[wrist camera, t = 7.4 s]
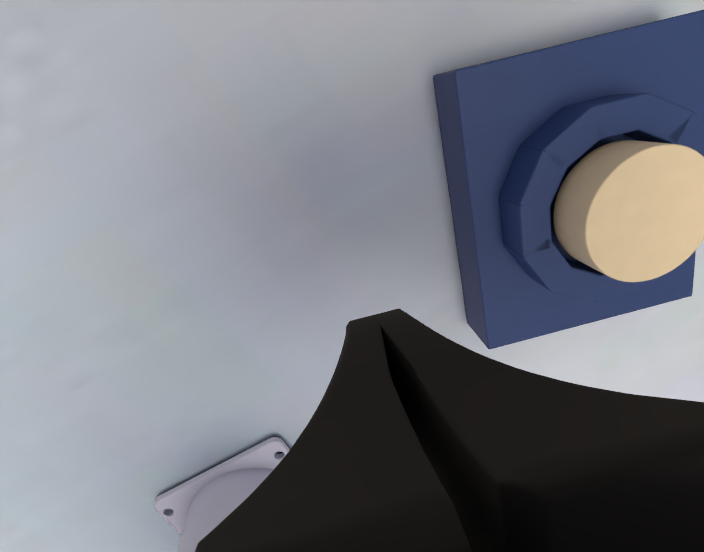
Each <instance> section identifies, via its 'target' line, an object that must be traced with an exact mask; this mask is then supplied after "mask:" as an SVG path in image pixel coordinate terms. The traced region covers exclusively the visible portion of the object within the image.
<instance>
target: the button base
mask: <svg viewBox="0 0 704 552" xmlns="http://www.w3.org/2000/svg"><path fill="white" fill-rule="evenodd" d="M433 80H434V87H435V94H436V101H437V108H438V116H439V123H440V130H441V137H442V144H443V151H444V158H445V166H446V173H447V180H448V187H449V194H450V201H451V208H452V216H453V223H454V230H455V237H456V244H457V251H458V258H459V265H460V273H461V280H462V287H463V294H464V301H465V308H466V315H467V323H468V324H469V326H470V327H471V328H472V329H473V331H474V332H475V333H476V334H477V336H478V337H479V338H480V339H481V340H482V342H483V343H484V344H485V345H486V347H487V348H488V349H492V348H496V347H500V346H504V345H508V344H511V343H515V342H519V341H523V340H527V339H530V338H534V337H538V336H542V335H545V334H549V333H553V332H557V331H561V330H564V329H568V328H572V327H576V326H579V325H583V324H587V323H591V322H595V321H598V320H602V319H606V318H610V317H613V316H617V315H621V314H625V313H629V312H632V311H636V310H640V309H644V308H647V307H651V306H655V305H659V304H663V303H666V302H670V301H674V300H678V299H681V298H685V297H689V296H692V290H693V277H694V264H695V252H696V250H695V251H694V252H693V254H692V255H691V256H690V257H689V258H688V259H686V260H685V261H684V262H683V263H682V264H680V265H679V266H678V267H676V268H675V269H673V270H672V271H670V272H668V273H666V274H664V275H662V276H660V277H657V278H654V279H651V280H647V281H642V282H624V281H619V280H616V279H613V278H610V277H608V276H607V275H605V274H603V273H601V272H599V271H597V270H595V269H593V268H592V267H590V266H588V265H586V264H584V263H582V262H580V261H578V260H577V259H575V258H573V257H572V256H571V255H569V254H568V253H567V252H566V251H565V250H564V249H563V247H562V246H561V244H560V243H559V240H558V238H557V236H556V232H555V229H554V221H553V216H554V206H555V201H556V198H557V195H558V192H559V189H560V187H561V185H562V183H563V181H564V180H565V178H566V177H567V175H568V174H569V172H570V171H571V170H572V169H573V167H574V166H575V165H576V164H577V163H578V162H579V161H580V160H581V159H582V158H584V157H585V156H586V155H587V154H589V153H590V152H592V151H594V150H595V149H597V148H599V147H601V146H603V145H605V144H608V143H611V142H615V141H621V140H635V141H646V142H658V143H669V144H678V145H683V146H687V147H689V148H691V149H694V150H696V151H697V152H698V153H700V154H701V155H702V156H703V157H704V10H701V11H696V12H692V13H688V14H684V15H680V16H676V17H672V18H668V19H664V20H659V21H655V22H651V23H647V24H643V25H639V26H635V27H631V28H626V29H622V30H618V31H614V32H610V33H606V34H602V35H598V36H594V37H589V38H585V39H581V40H577V41H573V42H569V43H565V44H561V45H557V46H552V47H548V48H544V49H540V50H536V51H532V52H528V53H524V54H519V55H515V56H511V57H507V58H503V59H499V60H495V61H491V62H487V63H482V64H478V65H474V66H470V67H466V68H462V69H458V70H454V71H450V72H446V73H442V74H437V75H434V77H433Z"/></svg>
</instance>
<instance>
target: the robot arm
mask: <svg viewBox="0 0 704 552" xmlns="http://www.w3.org/2000/svg"><path fill="white" fill-rule="evenodd" d="M279 451H280V452H283V453H281V454H277V453H276V452H279ZM153 506H154V509H155V510H156V511H157V512H158V513H159V514H160V515H161V516H162V517H163V518H164V519H165V520H166V521H167V522H168V523H169V524H170V525H171V526H172V527H173V528H174V529H175V530H176V531H177V532H178V533H179V534H180V535H181V539H180V543H179V547H178V550H177V552H704V402H696V401H687V400H678V399H669V398H659V397H650V396H641V395H633V394H626V393H621V392H615V391H609V390H604V389H598V388H592V387H587V386H582V385H578V384H573V383H568V382H564V381H560V380H556V379H553V378H549V377H545V376H541V375H538V374H534V373H530V372H527V371H524V370H521V369H518V368H515V367H512V366H509V365H506V364H504V363H501V362H498V361H495V360H493V359H490V358H487V357H485V356H483V355H480V354H478V353H476V352H474V351H472V350H469V349H467V348H465V347H463V346H461V345H459V344H457V343H455V342H453V341H451V340H449V339H447V338H446V337H444V336H442V335H440V334H439V333H437V332H435V331H433V330H432V329H430V328H429V327H427V326H425V325H424V324H422V323H421V322H419V321H418V320H416V319H415V318H413V317H412V316H410V315H409V314H407V313H405V312H404V311H402V310H401V309H395V310H391V311H387V312H384V313H380V314H376V315H372V316H368V317H364V318H360V319H356V320H352V321H350V322H349V323H348V325H347V326H346V336H345V341H344V345H343V348H342V352H341V355H340V358H339V361H338V364H337V367H336V369H335V372H334V374H333V377H332V379H331V381H330V383H329V386H328V388H327V390H326V392H325V395H324V396H323V398H322V400H321V402H320V404H319V406H318V408H317V410H316V411H315V413H314V415H313V416H312V418H311V420H310V422H309V423H308V425H307V426H306V428H305V429H304V431H303V432H302V434H301V435H300V436H299V438H298V439H297V441H296V442H295V444H294V445H293V446H292V448H291V449H289V448H288V447H287V445H286V444H285V443H284V441H283V440H282V439H280V438H278V437H272V438H269V439H268V440H266V441H264V442H262V443H260V444H258V445H256V446H254V447H252V448H250V449H248V450H246V451H244V452H242V453H241V454H239V455H237V456H235V457H233V458H231V459H229V460H227V461H225V462H223V463H221V464H219V465H217V466H215V467H214V468H212V469H210V470H208V471H206V472H204V473H202V474H200V475H198V476H196V477H194V478H192V479H190V480H188V481H187V482H185V483H183V484H181V485H179V486H177V487H175V488H173V489H171V490H169V491H167V492H165V493H163V494H161V495H159V496H158V497H157V498H156V500H155V502H154V505H153ZM168 509H171V510H168Z"/></svg>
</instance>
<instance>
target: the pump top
mask: <svg viewBox="0 0 704 552" xmlns="http://www.w3.org/2000/svg"><path fill="white" fill-rule="evenodd" d="M553 221H554V229H555V232H556V236H557V238H558V240H559V243H560V244H561V246H562V247H563V249H564V250H565V251H566V252H567V253H568V254H569V255H571V256H572V257H573V258H575V259H577V260H578V261H580V262H582V263H584V264H586V265H588V266H590V267H592V268H593V269H595V270H597V271H599V272H601V273H603V274H605V275H607V276H608V277H610V278H613V279H616V280H619V281H624V282H642V281H647V280H651V279H654V278H657V277H660V276H662V275H664V274H666V273H668V272H670V271H672V270H673V269H675V268H676V267H678V266H679V265H680V264H682V263H683V262H684V261H685V260H686V259H688V258H689V257H690V256H691V255H692V254H693V252H694V251H695V250H696V249H697V248H698V247H699V245H700V244H701V243H702V241H703V240H704V157H703V156H702V155H701V154H700V153H698V152H697V151H696V150H694V149H691V148H689V147H687V146H683V145H678V144H669V143H658V142H646V141H635V140H621V141H615V142H611V143H608V144H605V145H603V146H601V147H599V148H597V149H595V150H594V151H592V152H590V153H589V154H587V155H586V156H585V157H584V158H582V159H581V160H580V161H579V162H578V163H577V164H576V165H575V166H574V167H573V169H572V170H571V171H570V172H569V174H568V175H567V177H566V178H565V180H564V181H563V183H562V185H561V187H560V189H559V192H558V195H557V198H556V201H555V206H554V216H553Z"/></svg>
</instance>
